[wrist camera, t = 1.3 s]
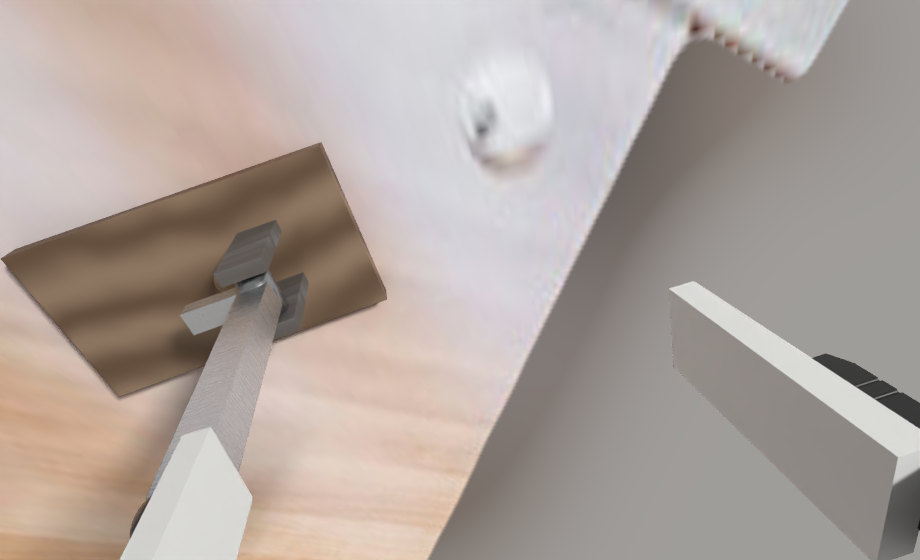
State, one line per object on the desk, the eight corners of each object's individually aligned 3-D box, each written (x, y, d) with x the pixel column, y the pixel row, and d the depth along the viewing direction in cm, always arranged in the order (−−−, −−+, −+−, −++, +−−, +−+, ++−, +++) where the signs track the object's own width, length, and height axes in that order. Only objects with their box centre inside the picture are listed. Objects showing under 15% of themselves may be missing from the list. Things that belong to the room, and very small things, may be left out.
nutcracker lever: (182, 293, 39) (-18, 598, 18) (275, 260, 40) (185, 522, 18) (206, 328, 41) (49, 644, 20) (295, 296, 41) (234, 574, 20)
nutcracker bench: (15, 249, 43) (-79, 309, 33) (321, 142, 43) (312, 171, 34) (127, 383, 50) (76, 462, 41) (385, 290, 51) (392, 346, 42)
